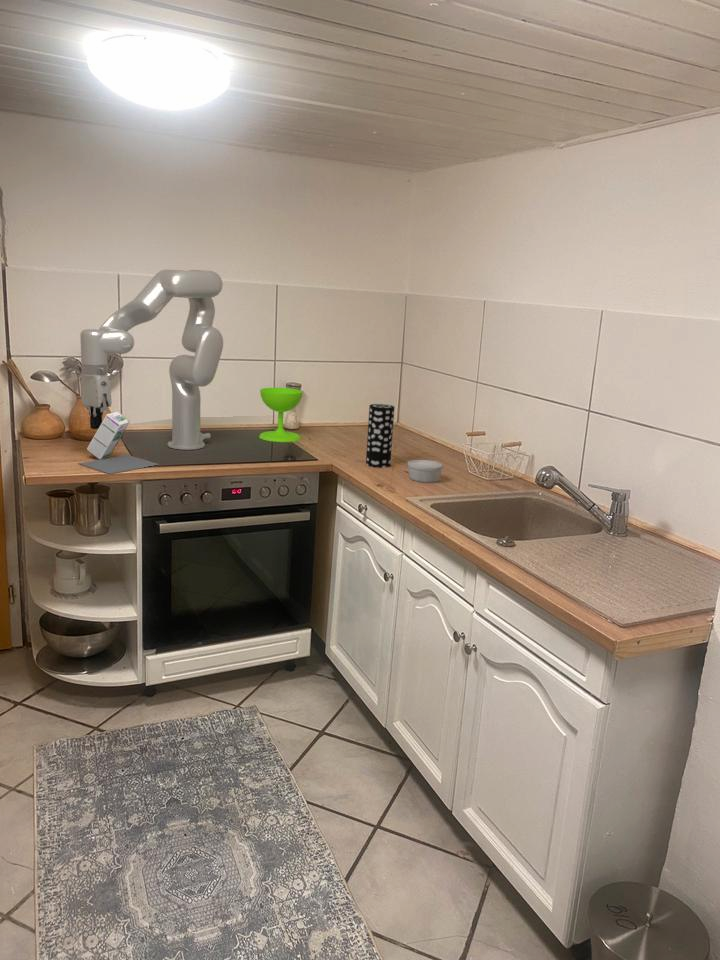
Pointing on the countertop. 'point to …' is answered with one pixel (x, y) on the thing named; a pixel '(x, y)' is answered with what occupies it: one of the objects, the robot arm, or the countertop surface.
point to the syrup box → (108, 435)
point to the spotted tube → (380, 435)
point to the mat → (118, 464)
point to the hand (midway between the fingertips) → (96, 428)
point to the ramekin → (424, 471)
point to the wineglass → (280, 411)
